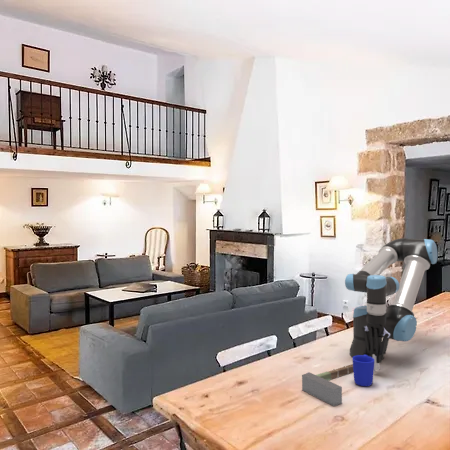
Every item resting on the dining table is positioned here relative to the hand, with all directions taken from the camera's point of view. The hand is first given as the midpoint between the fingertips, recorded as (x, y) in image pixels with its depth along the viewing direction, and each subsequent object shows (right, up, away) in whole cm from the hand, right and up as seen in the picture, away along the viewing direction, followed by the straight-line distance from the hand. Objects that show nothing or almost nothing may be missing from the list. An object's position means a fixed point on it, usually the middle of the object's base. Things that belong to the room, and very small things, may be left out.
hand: (376, 369), depth 176 cm
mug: (-7, -3, -7) cm, 10 cm away
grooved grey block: (-27, -3, -20) cm, 34 cm away
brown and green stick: (-18, -2, -2) cm, 18 cm away
